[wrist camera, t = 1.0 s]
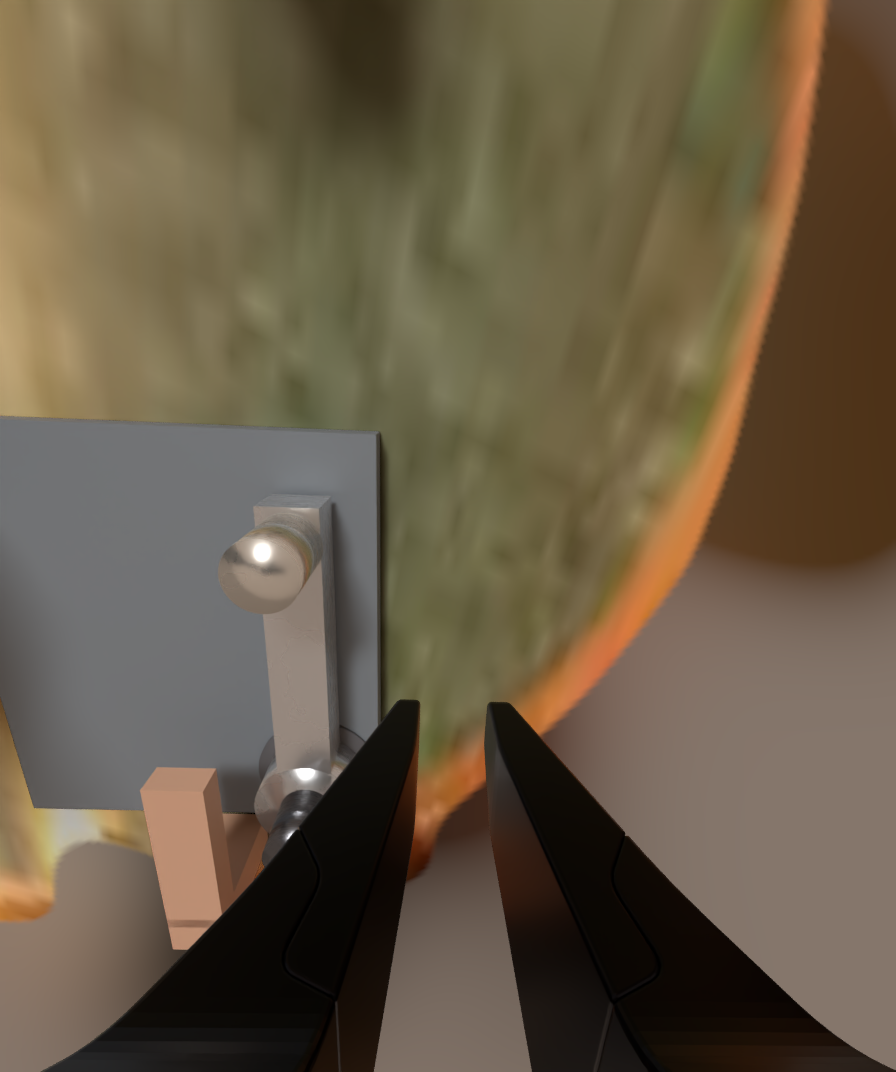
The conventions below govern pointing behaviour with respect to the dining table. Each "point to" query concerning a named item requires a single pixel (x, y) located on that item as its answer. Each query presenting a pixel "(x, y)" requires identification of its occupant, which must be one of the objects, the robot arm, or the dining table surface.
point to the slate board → (164, 599)
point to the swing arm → (293, 652)
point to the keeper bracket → (198, 849)
